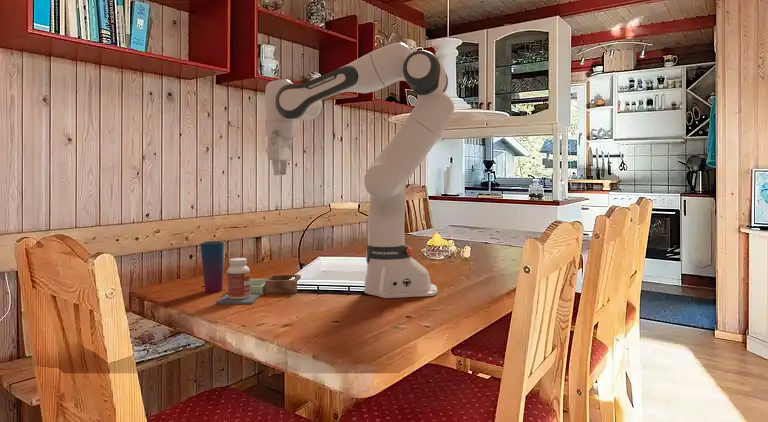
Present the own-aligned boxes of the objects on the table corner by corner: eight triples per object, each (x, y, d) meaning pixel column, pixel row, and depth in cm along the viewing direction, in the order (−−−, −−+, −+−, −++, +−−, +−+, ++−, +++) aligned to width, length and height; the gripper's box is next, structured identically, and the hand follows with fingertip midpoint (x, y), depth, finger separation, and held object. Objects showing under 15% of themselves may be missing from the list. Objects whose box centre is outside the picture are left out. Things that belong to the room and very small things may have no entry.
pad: (260, 295, 158) (260, 293, 158) (252, 304, 148) (252, 301, 148) (227, 295, 158) (227, 293, 158) (216, 304, 148) (216, 301, 148)
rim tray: (270, 286, 169) (270, 278, 169) (262, 294, 158) (262, 286, 158) (237, 286, 169) (237, 279, 169) (227, 294, 158) (226, 286, 158)
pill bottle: (248, 299, 150) (247, 260, 149) (225, 300, 149) (224, 261, 148) (252, 294, 156) (251, 257, 155) (230, 295, 156) (229, 257, 155)
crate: (300, 287, 168) (300, 274, 168) (295, 294, 159) (295, 280, 159) (272, 287, 168) (271, 274, 168) (265, 294, 159) (265, 280, 159)
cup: (218, 293, 160) (216, 244, 158) (197, 292, 161) (195, 243, 160) (229, 288, 166) (227, 240, 165) (209, 287, 168) (207, 240, 167)
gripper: (282, 129, 160) (283, 175, 161) (294, 133, 180) (295, 174, 181) (261, 129, 160) (262, 175, 161) (276, 133, 180) (277, 174, 182)
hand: (280, 175), depth 171 cm, fingers open, 8 cm apart
